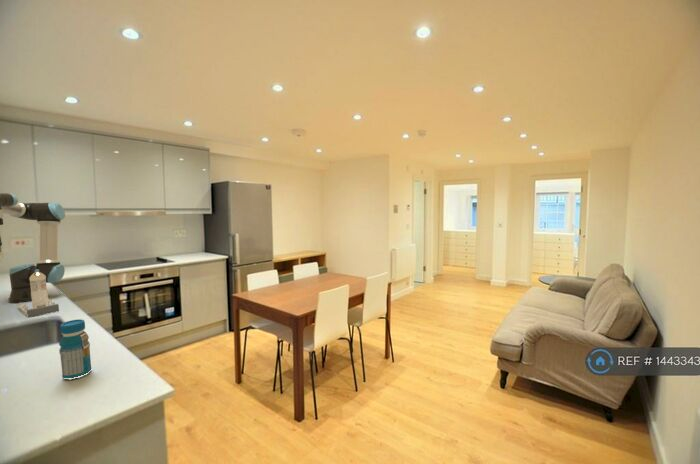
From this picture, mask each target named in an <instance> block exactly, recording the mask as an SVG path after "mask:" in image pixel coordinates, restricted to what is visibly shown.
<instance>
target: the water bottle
mask: <svg viewBox="0 0 700 464" xmlns="http://www.w3.org/2000/svg"><path fill="white" fill-rule="evenodd" d="M29 280H30V286H31V298H32V301H31V305H32V306H31V307H32V308H31V309H34V308H39V307H44V306H49V303H48V298H49V297H48V296H49V295H48V294H49V293H48V287H47V283H46V276H45V275H44V274H43V273H40V272H39V270H35V273H34V274H32V275H31V276H30V278H29Z"/></svg>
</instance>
